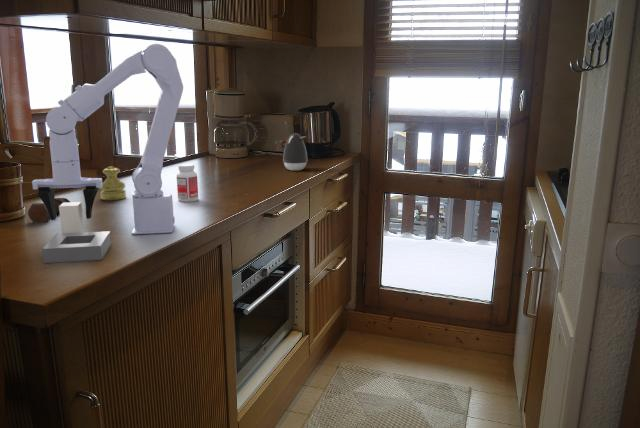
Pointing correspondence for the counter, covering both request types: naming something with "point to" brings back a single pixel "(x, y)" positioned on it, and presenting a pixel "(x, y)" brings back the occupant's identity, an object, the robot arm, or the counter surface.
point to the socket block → (77, 247)
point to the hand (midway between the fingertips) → (71, 218)
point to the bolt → (43, 210)
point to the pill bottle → (187, 183)
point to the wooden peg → (71, 217)
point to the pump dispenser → (295, 153)
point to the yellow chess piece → (112, 185)
